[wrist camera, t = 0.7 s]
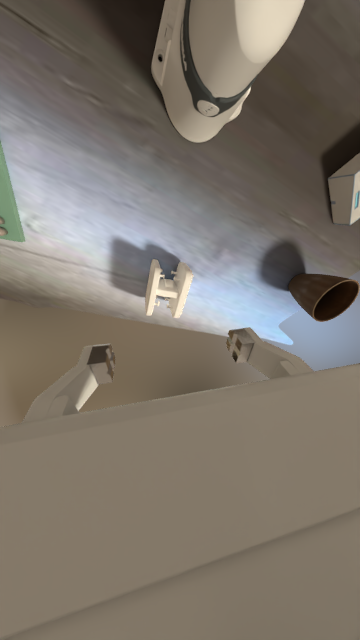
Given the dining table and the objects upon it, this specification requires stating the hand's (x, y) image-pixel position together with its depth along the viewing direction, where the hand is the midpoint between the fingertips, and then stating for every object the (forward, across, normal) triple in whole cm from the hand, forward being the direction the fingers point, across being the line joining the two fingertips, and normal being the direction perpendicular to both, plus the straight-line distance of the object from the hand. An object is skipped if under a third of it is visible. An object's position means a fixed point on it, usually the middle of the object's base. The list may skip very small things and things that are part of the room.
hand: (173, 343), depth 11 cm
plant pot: (+43, -56, +17) cm, 73 cm away
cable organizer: (+43, -4, +13) cm, 45 cm away
